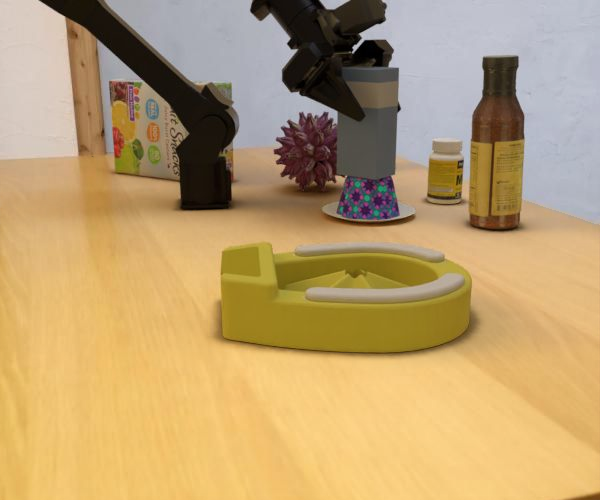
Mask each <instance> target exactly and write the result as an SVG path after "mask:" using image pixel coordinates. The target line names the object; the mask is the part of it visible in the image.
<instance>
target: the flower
mask: <svg viewBox="0 0 600 500" xmlns="http://www.w3.org/2000/svg"><path fill="white" fill-rule="evenodd" d="M298 116H299V119H298V123H296V122H294V121H292V119H291V118H289V119H287V121H286V123H287V124H288V126H289V127H287V126H285V124H284V125H282V126H280V130H281V131H282V132H283V134H284V136H281V137H280V136H276V138H275V142H277V143H279V144H280V145H281V146H280V147H278V148H273V155H276V156H279V158H278V159H276V160H275V164H276V165H277V166H279V165H283V166H284V168H283V170H282V171H281V172H280V173H279V175H280V178H285V177H286V176H288V180H289V181H292V180H293V179H294V178H295V180H294V182H295V184H298V191H302V192H305V189H306V187H307V188H311V186H312V184H313V182H314V183H315V184H316V187H318V188H320V190H321V191H322V192H326V190H327V187H326V186H327V185H326V184H327V183H329V182H332V183H333V184H337V183H338V180H337V179H336V177H341V178H343V179H346V176H345V175H337V122H334V121H335V119H334V117H329V111H325V110H324V111H323V112H322V115H321V116H319V114H318V115H317V114H315V115H314V116H313V113H312V112H308V113H307V114H306V115H305V113H304V111H298Z"/></svg>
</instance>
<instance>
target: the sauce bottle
mask: <svg viewBox="0 0 600 500" xmlns="http://www.w3.org/2000/svg"><path fill="white" fill-rule="evenodd" d="M519 58H520V57H519V55H517V54H501V55H499V54H497V55H494V54H493V55H484V56H482V62H481V68H482V70H483V81H482V90H481V94H482V95H481V96H482V97H481V99H480V101H479V102H478V104H476V105H477V106H476V107H475V108H474V110H473V112H472V116H471V117H472V118H471V138H470V149H469V150H470V151H469V154H470V155H469V186H468V190H469V191H468V214H469V222H470V224H471V225H472V226H474V227H476V228H482V229H486V230H508V229H513V228H515V227H517V226H518V225H520V222H521V212H522V202H523V199H522V198H523V182H524V181H523V178H524V161H525V160H524V159H525V140H526V139H525V113H524V111H523V109H522V106H521V105H520V102H519V99H518V96H517V88H516V87H517V73H518V72H517V71H518V69H519V65H520V64H519V62H520V60H519Z"/></svg>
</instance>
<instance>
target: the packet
mask: <svg viewBox="0 0 600 500" xmlns="http://www.w3.org/2000/svg"><path fill="white" fill-rule="evenodd" d="M342 76H343V79H344V80H345V82H346V83H347V85H348V87H349V88H350V90H351V91H352V93H353V94H354V96H355V98H356V99H357V101H358V102H359V104H360V106H361V107H362V109H363V111H364V113H365V115H366V117H365V118H364V119H363V120H362V121H361V122H358V121H356V120H354V119H352V118H350V117H348V116H346V115H344V114H342V113H340V112H338V111H336V113H337V115H336V117H337V118H336V119H337V121H336V124H337V175H345V177H347V176H352V177H359V178H366V179H373V180H377V179H381V178H385V177H388V176H391V177H393V176H395V175H396V165H397V164H396V163H397V162H396V161H397V138H398V137H397V136H398V133H397V132H398V113H397V111H398V101H399V85H400V81H399V79H400V67H394V66H392V67H391V66H389V67H370V66H353V67H342Z"/></svg>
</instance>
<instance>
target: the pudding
mask: <svg viewBox="0 0 600 500" xmlns="http://www.w3.org/2000/svg"><path fill="white" fill-rule="evenodd" d="M394 183H395V182H394V179H393V176H388V177H385V178H381V179H377V180H373V179H366V178H359V177H352V176H345V178H344V182H343V185H342V190H341V194H340V196H339V197H340V198H339V200H337V201H333V202H329V203H327V204H324V205H323V206H322V207H321V210H322V212H323V213H325V214H326V215H329V216H331V217H334V218H338V219H342V220H346V221H349V222H350V221H351V222H355V223H356V222H358V223H383V222H384V223H385V222H390V221H394V220H400V219H403V218H407V217H409V216H412V215H413V214H416V208H415V207H414V206H413V205H410V204H408V203H404V202H400V201H398V200H397V199H398V198H397V194H396V188H395V184H394Z"/></svg>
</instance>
